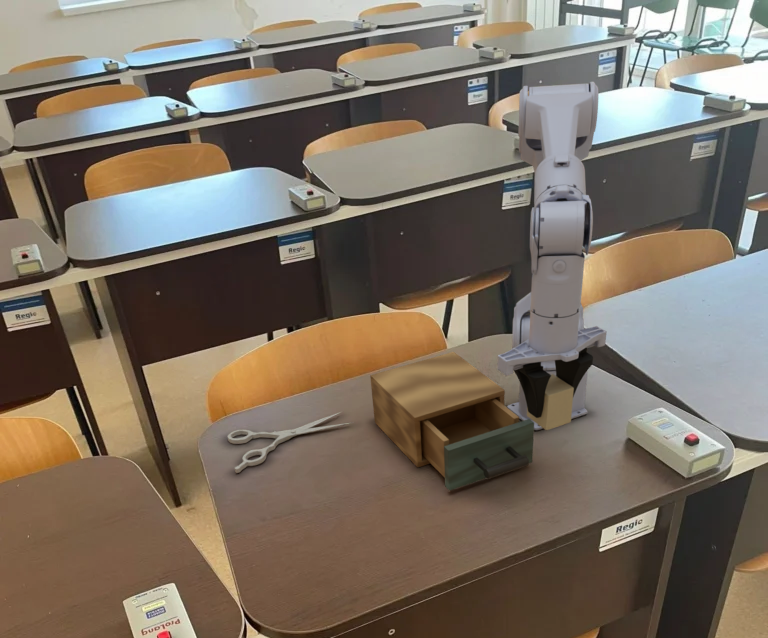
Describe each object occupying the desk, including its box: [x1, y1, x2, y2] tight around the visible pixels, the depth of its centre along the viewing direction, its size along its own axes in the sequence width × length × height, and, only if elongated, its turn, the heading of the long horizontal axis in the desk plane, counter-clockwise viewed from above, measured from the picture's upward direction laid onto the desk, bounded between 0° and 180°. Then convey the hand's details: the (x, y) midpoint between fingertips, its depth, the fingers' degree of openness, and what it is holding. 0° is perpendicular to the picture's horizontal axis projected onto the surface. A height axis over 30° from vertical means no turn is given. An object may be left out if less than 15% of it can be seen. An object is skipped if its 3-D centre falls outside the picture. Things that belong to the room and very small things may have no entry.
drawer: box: [420, 398, 535, 491], centre depth 103 cm, size 18×13×6 cm
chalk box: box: [527, 374, 574, 431], centre depth 96 cm, size 4×4×5 cm
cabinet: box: [369, 351, 506, 468], centre depth 111 cm, size 15×14×8 cm
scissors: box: [227, 411, 355, 474], centre depth 115 cm, size 11×1×20 cm
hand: (548, 409), depth 97 cm, fingers closed on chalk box, 4 cm apart
